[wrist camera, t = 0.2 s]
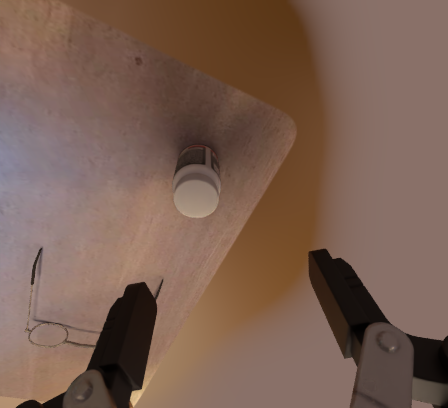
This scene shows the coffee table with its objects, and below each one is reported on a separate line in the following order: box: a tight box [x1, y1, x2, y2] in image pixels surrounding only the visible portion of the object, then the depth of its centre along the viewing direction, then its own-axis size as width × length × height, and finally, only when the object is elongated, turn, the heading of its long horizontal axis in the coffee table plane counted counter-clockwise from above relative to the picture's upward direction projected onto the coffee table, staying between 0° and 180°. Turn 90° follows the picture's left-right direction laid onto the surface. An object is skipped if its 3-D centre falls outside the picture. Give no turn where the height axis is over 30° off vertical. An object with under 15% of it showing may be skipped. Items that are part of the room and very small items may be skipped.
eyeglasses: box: [25, 248, 163, 349], centre depth 39 cm, size 18×19×4 cm
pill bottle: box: [172, 145, 221, 218], centre depth 25 cm, size 5×5×8 cm
